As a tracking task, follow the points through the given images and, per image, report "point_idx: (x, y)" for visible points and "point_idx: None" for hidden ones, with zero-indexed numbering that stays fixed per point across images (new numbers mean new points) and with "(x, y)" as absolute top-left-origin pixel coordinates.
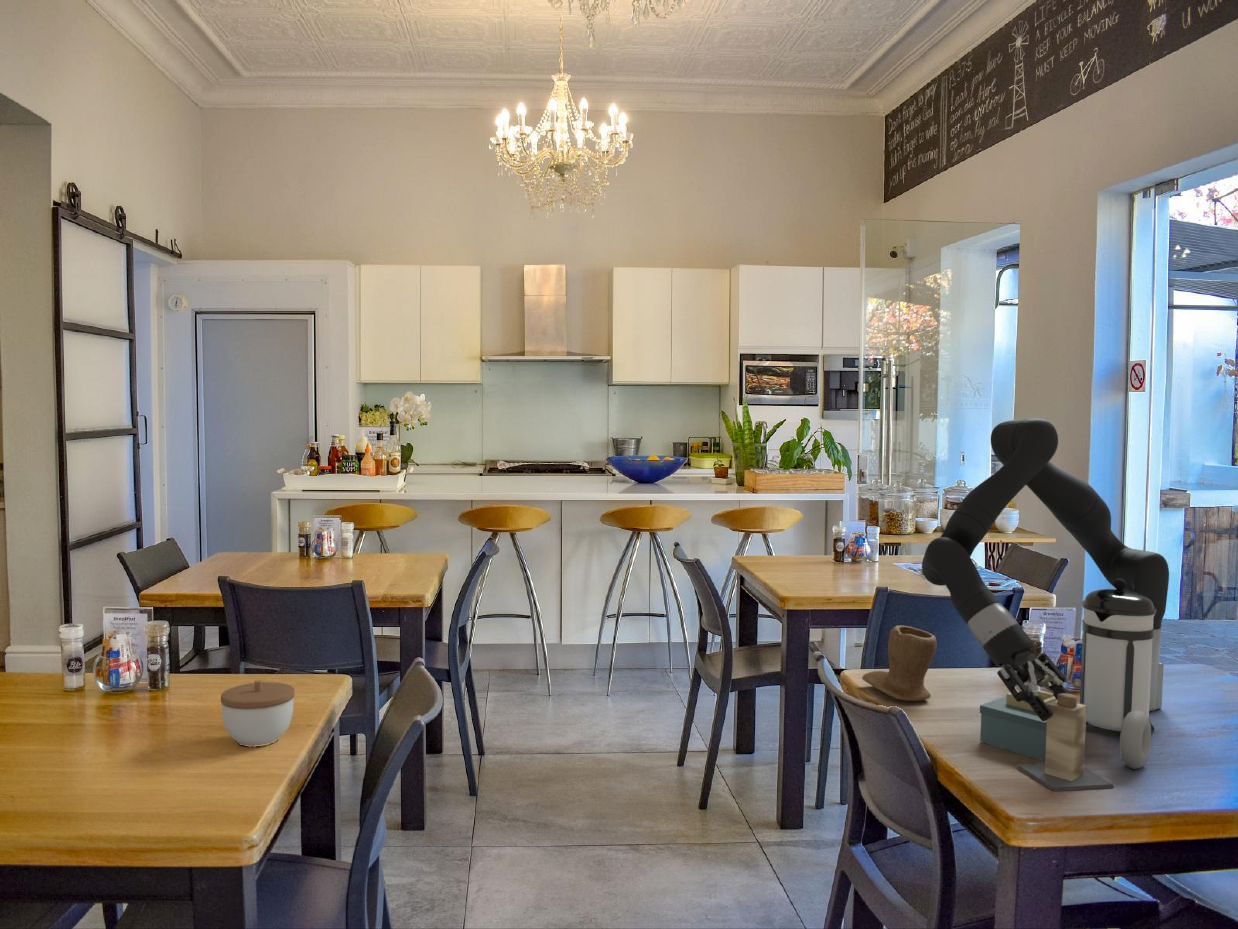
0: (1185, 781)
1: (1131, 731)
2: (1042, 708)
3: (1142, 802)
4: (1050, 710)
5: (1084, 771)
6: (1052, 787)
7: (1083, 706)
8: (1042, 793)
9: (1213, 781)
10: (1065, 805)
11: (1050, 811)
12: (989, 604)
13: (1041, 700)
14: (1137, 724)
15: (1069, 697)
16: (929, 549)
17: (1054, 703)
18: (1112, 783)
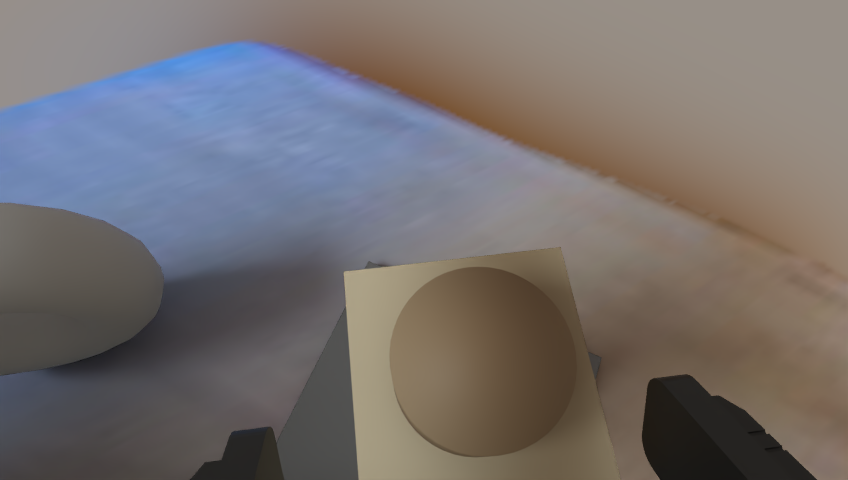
0: (103, 175)
1: (87, 234)
2: (753, 437)
3: (407, 162)
4: (681, 393)
5: (336, 391)
6: (599, 362)
7: (394, 267)
8: (648, 370)
9: (33, 132)
10: (655, 268)
11: (740, 266)
12: None
13: (775, 473)
14: (24, 210)
15: (514, 310)
16: None
17: (545, 458)
18: (367, 265)
